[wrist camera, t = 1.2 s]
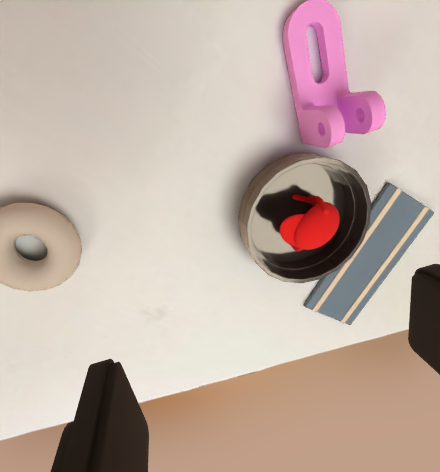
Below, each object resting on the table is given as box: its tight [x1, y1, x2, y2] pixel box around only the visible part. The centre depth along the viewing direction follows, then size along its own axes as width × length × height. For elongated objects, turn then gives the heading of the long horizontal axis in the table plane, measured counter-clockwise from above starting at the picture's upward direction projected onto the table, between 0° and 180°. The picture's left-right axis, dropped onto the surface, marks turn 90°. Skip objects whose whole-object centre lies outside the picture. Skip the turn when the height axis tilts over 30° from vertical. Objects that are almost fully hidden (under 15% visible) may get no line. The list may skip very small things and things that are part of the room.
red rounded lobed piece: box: [280, 194, 340, 251], centre depth 35 cm, size 8×6×6 cm
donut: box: [0, 203, 82, 291], centre depth 32 cm, size 10×4×10 cm
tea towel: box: [304, 183, 434, 325], centre depth 43 cm, size 20×9×1 cm, turn 151°
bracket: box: [283, 0, 386, 148], centre depth 30 cm, size 13×6×7 cm, turn 18°
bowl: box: [238, 153, 371, 283], centre depth 37 cm, size 15×15×4 cm
